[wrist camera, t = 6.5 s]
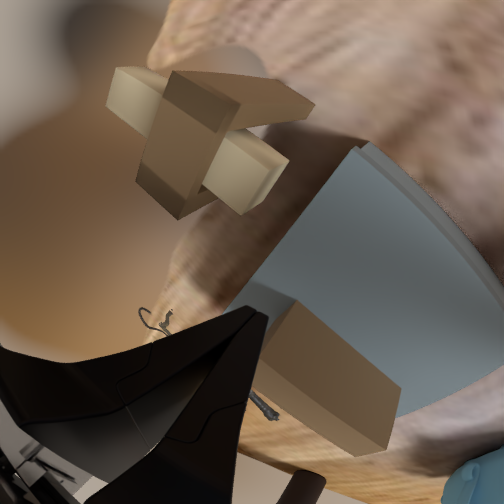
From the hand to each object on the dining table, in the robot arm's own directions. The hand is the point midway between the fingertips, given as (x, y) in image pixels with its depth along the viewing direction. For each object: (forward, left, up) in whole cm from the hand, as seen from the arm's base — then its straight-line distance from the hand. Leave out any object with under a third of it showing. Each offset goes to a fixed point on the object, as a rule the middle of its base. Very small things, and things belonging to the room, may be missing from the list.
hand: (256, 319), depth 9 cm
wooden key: (+8, -1, -5) cm, 10 cm away
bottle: (-32, +42, -12) cm, 54 cm away
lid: (-6, +5, -7) cm, 10 cm away
